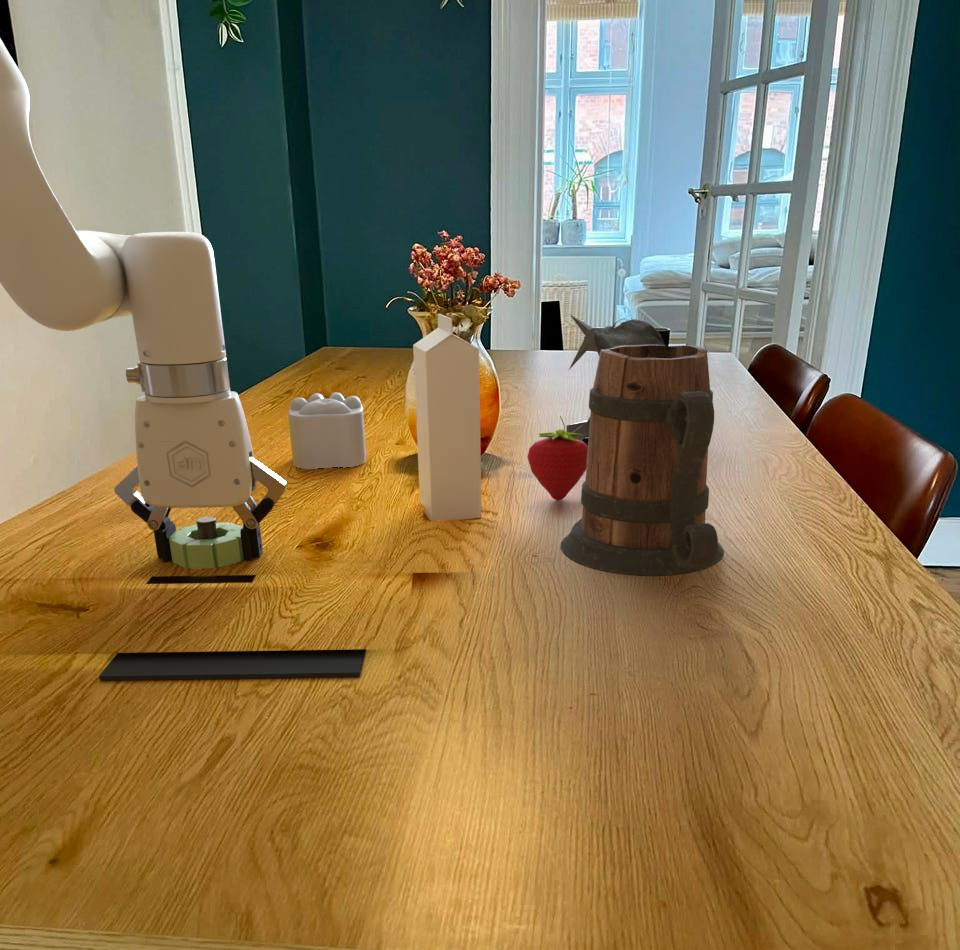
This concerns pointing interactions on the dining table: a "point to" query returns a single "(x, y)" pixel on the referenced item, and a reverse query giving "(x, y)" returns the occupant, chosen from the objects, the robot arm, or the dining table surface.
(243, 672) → the mat
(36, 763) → the dining table surface
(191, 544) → the ring
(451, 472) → the milk
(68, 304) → the robot arm
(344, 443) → the lumpy-topped squat cylinder
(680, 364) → the tankard
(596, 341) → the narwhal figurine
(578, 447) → the strawberry
